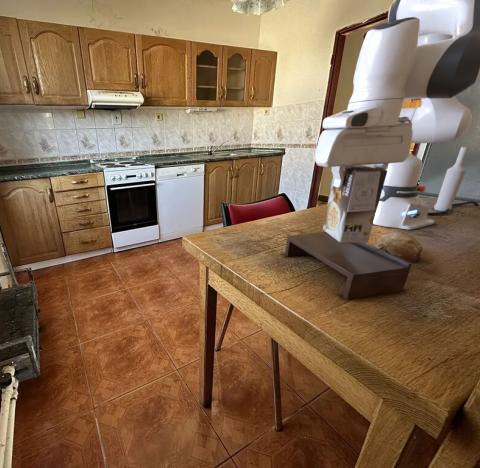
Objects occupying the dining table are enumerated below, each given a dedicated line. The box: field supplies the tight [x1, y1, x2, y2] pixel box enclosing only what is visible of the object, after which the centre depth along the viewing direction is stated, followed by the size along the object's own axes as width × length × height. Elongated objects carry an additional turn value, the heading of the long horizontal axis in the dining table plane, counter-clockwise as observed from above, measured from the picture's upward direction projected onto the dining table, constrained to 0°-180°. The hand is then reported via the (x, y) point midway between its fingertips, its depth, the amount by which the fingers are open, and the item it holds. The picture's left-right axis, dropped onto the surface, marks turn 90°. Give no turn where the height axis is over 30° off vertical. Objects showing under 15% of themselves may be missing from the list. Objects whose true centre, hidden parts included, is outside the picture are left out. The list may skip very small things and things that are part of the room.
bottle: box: [433, 146, 470, 212], centre depth 103 cm, size 5×5×25 cm
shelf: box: [284, 231, 413, 300], centre depth 64 cm, size 14×22×7 cm, turn 10°
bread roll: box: [374, 232, 423, 263], centre depth 71 cm, size 10×10×8 cm
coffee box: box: [322, 165, 387, 244], centre depth 59 cm, size 9×6×16 cm
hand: (355, 185), depth 57 cm, fingers closed on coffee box, 7 cm apart
